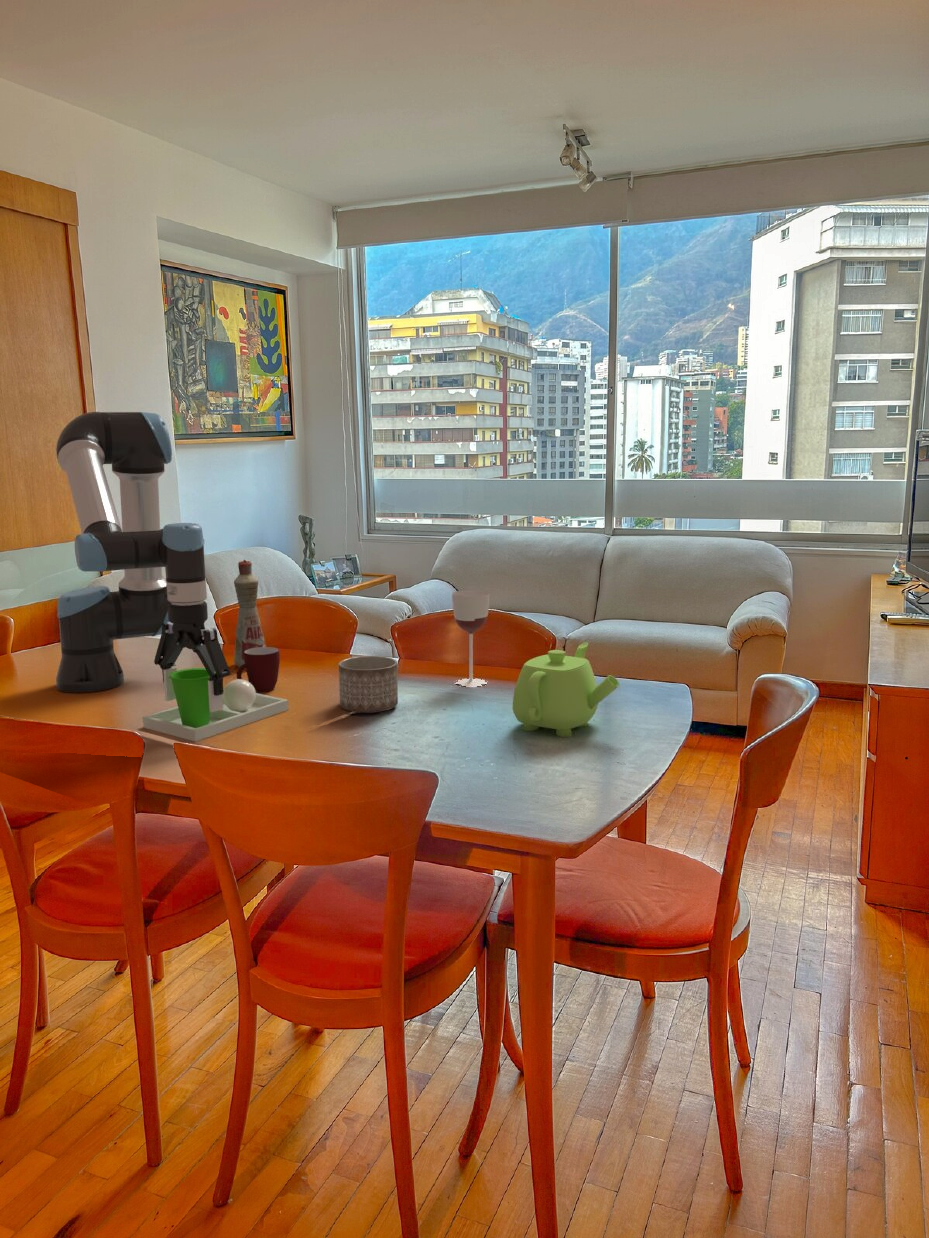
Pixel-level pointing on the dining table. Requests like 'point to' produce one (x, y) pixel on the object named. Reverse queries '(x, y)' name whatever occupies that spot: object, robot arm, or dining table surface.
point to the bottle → (247, 613)
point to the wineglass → (470, 622)
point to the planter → (368, 684)
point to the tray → (215, 719)
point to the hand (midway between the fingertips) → (193, 704)
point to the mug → (261, 667)
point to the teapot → (559, 692)
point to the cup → (192, 696)
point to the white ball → (239, 695)
